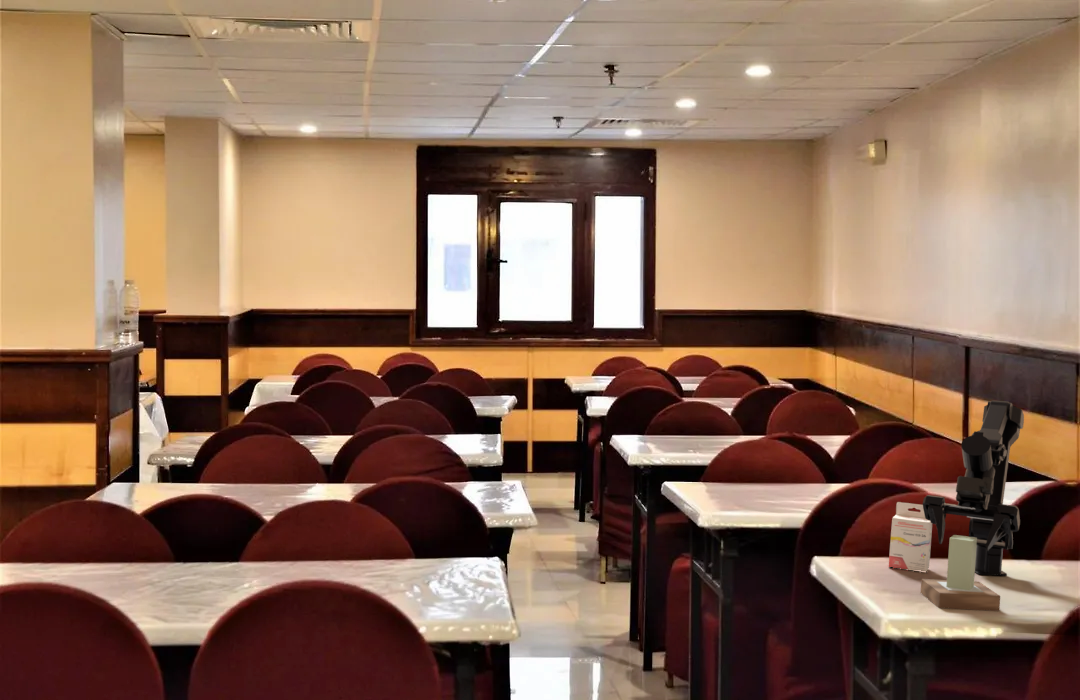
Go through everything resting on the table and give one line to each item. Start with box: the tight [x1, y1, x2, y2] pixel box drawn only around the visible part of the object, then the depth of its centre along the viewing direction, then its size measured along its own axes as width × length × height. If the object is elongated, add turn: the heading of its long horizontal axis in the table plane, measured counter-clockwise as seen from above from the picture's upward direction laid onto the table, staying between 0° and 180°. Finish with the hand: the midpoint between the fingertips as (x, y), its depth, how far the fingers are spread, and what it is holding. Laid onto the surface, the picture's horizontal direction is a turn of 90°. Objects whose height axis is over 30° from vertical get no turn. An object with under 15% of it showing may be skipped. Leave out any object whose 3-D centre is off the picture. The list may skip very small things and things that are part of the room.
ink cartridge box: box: [888, 501, 933, 572], centre depth 276 cm, size 9×5×15 cm, turn 65°
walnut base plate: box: [920, 578, 1001, 612], centre depth 247 cm, size 12×12×3 cm
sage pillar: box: [946, 534, 977, 590], centre depth 246 cm, size 4×4×10 cm
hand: (963, 546), depth 247 cm, fingers open, 9 cm apart
